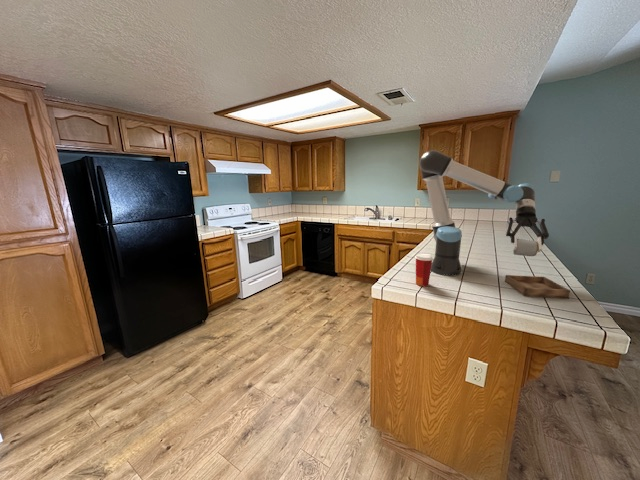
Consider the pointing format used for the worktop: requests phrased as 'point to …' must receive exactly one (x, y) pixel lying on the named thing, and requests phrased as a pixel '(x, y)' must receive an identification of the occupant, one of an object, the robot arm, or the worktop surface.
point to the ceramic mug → (526, 248)
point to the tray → (537, 286)
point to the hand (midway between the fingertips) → (527, 249)
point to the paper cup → (423, 269)
